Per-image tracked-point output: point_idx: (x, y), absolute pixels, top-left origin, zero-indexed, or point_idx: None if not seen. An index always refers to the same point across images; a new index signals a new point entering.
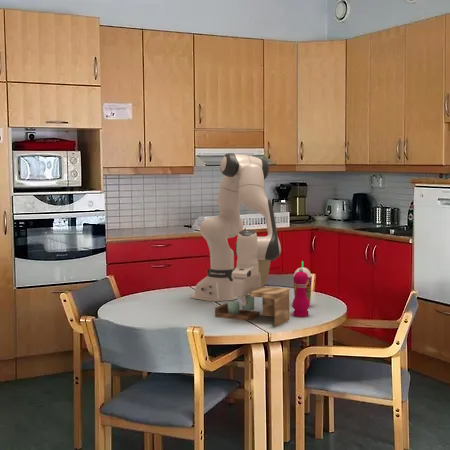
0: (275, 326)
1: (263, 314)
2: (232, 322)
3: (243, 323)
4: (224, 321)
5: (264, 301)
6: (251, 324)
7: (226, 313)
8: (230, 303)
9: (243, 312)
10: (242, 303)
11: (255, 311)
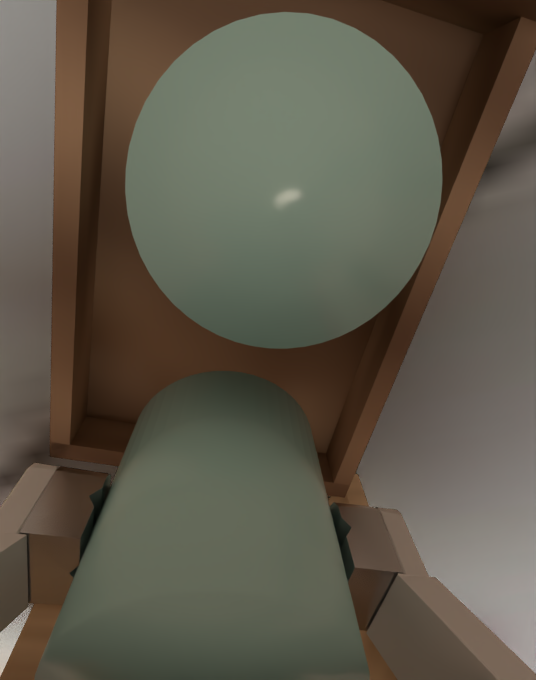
0: (35, 604)
1: (344, 502)
2: (5, 226)
3: (20, 362)
4: (7, 89)
5: (380, 669)
6: (17, 441)
7: (396, 12)
8: (128, 152)
9: (391, 302)
10: (16, 492)
11: (347, 460)
